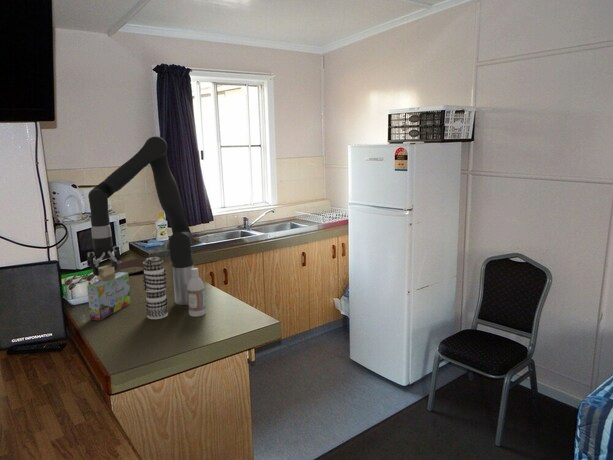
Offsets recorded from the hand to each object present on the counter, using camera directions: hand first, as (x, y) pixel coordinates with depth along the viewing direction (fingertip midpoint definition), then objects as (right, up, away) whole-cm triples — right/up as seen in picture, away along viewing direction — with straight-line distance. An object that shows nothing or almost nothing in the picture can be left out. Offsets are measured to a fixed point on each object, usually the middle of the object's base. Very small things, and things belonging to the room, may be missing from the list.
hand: (105, 273), depth 186 cm
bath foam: (+39, -18, -1) cm, 43 cm away
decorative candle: (+23, -18, -2) cm, 29 cm away
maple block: (0, -3, +1) cm, 3 cm away
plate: (-17, -5, +72) cm, 74 cm away
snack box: (+1, -17, +4) cm, 18 cm away
